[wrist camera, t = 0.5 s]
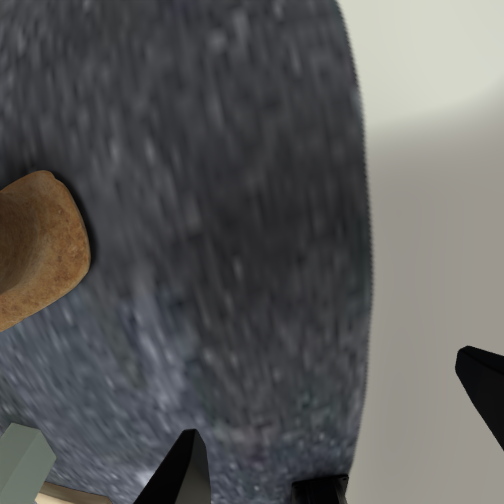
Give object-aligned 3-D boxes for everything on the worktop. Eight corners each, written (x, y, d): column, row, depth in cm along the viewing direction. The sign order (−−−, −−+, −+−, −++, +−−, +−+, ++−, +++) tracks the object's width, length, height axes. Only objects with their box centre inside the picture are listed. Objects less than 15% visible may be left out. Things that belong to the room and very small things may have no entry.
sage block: (56, 457, 28) (16, 537, 14) (28, 449, 27) (-14, 521, 14) (40, 429, 26) (-11, 512, 13) (11, 422, 26) (-40, 495, 13)
